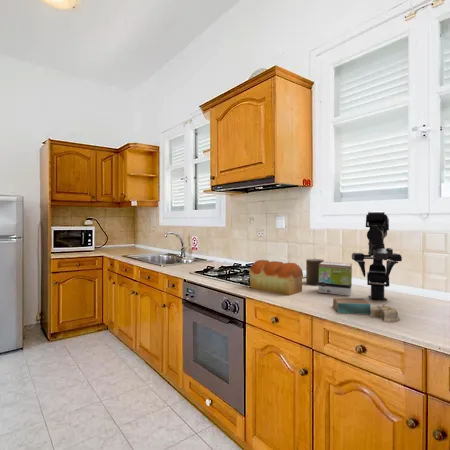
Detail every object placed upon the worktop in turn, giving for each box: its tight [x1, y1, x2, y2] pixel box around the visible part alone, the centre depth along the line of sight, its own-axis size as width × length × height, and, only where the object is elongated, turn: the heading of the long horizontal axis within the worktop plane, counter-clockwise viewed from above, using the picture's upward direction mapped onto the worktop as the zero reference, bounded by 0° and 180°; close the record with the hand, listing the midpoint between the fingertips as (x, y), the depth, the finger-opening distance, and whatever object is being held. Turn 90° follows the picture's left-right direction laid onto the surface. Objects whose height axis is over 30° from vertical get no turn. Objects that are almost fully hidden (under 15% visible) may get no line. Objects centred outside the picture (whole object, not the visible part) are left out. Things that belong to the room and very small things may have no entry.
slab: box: [332, 296, 371, 315], centre depth 129 cm, size 4×12×10 cm
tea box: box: [317, 261, 353, 297], centre depth 161 cm, size 15×10×15 cm
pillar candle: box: [305, 258, 325, 286], centre depth 183 cm, size 10×10×15 cm
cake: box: [369, 304, 400, 322], centre depth 118 cm, size 10×10×5 cm
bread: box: [248, 259, 304, 296], centre depth 166 cm, size 25×12×15 cm, turn 48°
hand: (375, 277), depth 137 cm, fingers open, 9 cm apart
